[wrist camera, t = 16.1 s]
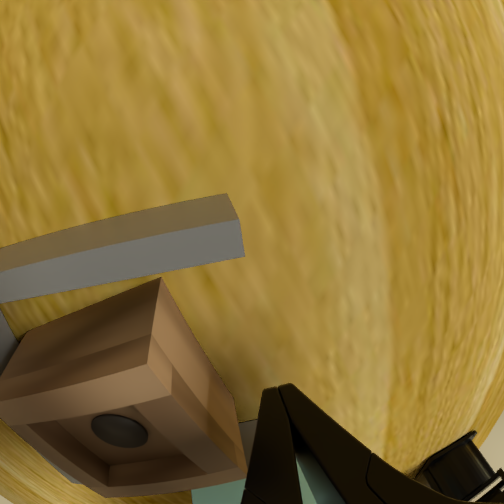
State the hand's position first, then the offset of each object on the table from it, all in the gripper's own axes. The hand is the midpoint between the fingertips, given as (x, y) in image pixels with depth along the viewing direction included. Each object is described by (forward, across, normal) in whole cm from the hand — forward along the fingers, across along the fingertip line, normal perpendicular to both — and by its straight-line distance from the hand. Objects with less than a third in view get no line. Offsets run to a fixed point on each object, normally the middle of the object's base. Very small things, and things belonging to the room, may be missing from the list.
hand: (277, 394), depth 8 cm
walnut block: (+3, +5, 0) cm, 6 cm away
